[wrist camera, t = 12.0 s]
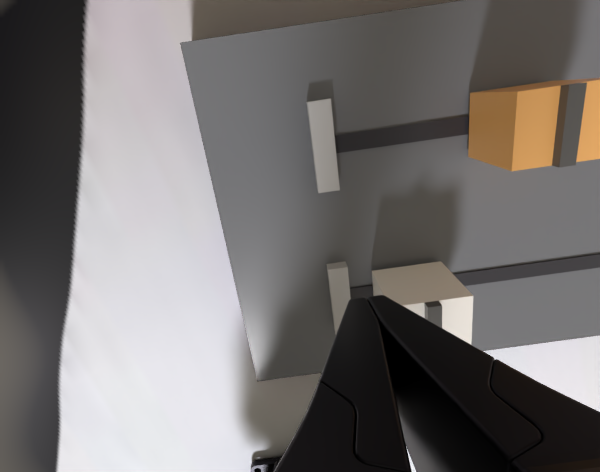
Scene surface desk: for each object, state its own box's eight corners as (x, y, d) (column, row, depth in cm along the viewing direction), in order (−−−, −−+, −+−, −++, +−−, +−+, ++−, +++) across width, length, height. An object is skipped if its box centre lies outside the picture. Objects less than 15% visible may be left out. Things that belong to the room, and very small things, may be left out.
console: (634, 307, 23) (677, 333, 20) (259, 358, 23) (256, 390, 21) (710, -30, 17) (787, -52, 14) (191, 48, 17) (175, 40, 14)
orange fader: (545, 145, 17) (617, 159, 13) (468, 157, 17) (518, 173, 13) (552, 80, 16) (631, 76, 12) (469, 92, 16) (524, 91, 12)
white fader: (440, 307, 20) (475, 355, 16) (375, 316, 20) (394, 365, 16) (440, 261, 19) (477, 300, 15) (371, 270, 19) (392, 312, 15)
